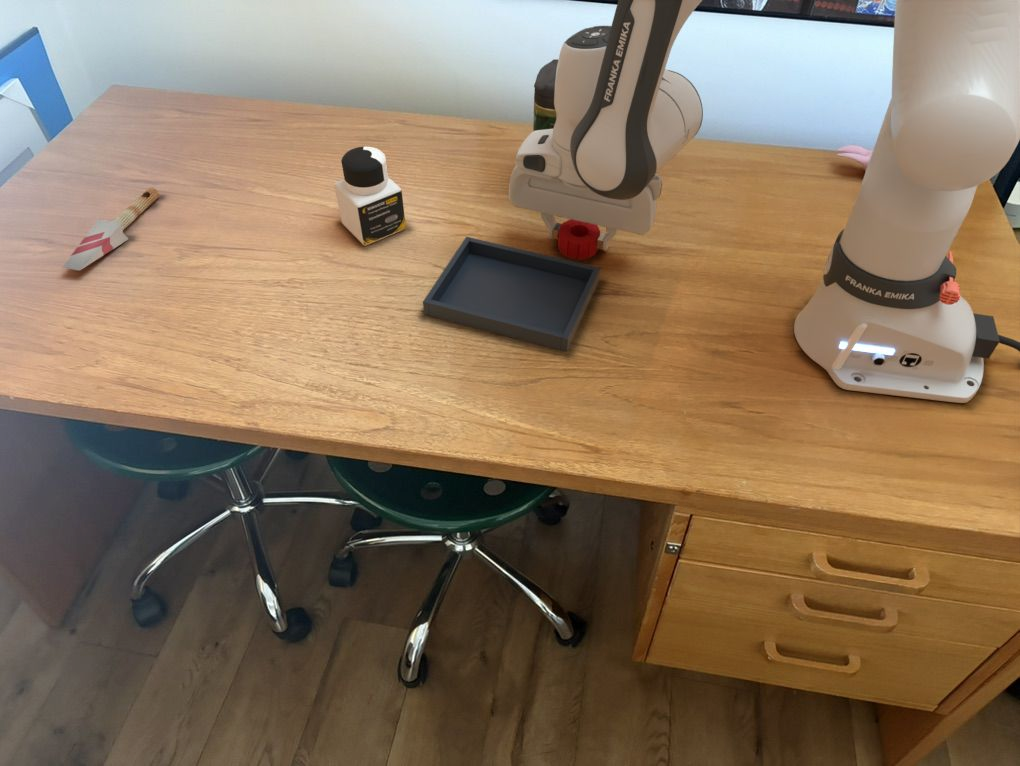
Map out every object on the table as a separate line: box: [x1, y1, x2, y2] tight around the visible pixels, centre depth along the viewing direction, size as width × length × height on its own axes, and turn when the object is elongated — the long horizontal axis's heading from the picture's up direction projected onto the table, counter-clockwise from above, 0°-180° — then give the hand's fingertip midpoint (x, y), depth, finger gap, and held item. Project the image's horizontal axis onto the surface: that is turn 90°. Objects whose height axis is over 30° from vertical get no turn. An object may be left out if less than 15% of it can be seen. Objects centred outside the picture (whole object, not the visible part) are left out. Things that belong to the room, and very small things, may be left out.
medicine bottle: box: [334, 146, 407, 247], centre depth 113 cm, size 7×7×12 cm
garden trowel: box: [62, 187, 160, 272], centre depth 115 cm, size 4×3×20 cm
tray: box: [422, 236, 601, 352], centre depth 106 cm, size 20×15×3 cm
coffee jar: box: [532, 58, 559, 132], centre depth 118 cm, size 10×8×19 cm
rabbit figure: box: [836, 144, 873, 172], centre depth 124 cm, size 6×6×15 cm
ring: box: [557, 219, 601, 260], centre depth 113 cm, size 6×6×3 cm
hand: (578, 241), depth 113 cm, fingers closed on ring, 6 cm apart
